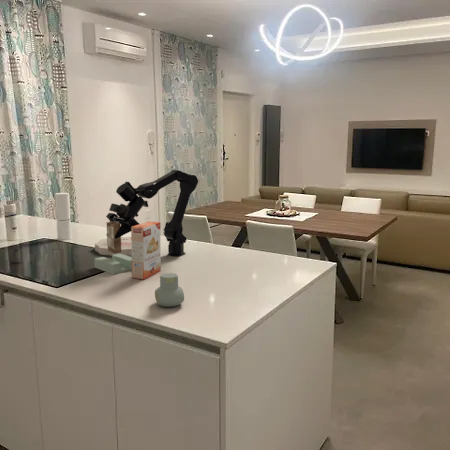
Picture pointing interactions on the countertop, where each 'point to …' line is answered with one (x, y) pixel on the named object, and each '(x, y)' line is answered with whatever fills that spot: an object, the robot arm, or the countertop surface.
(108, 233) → the photo frame
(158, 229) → the cracker box
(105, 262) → the frame stand
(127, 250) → the decorative plaque
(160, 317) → the countertop surface
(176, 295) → the air freshener
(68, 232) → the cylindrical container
